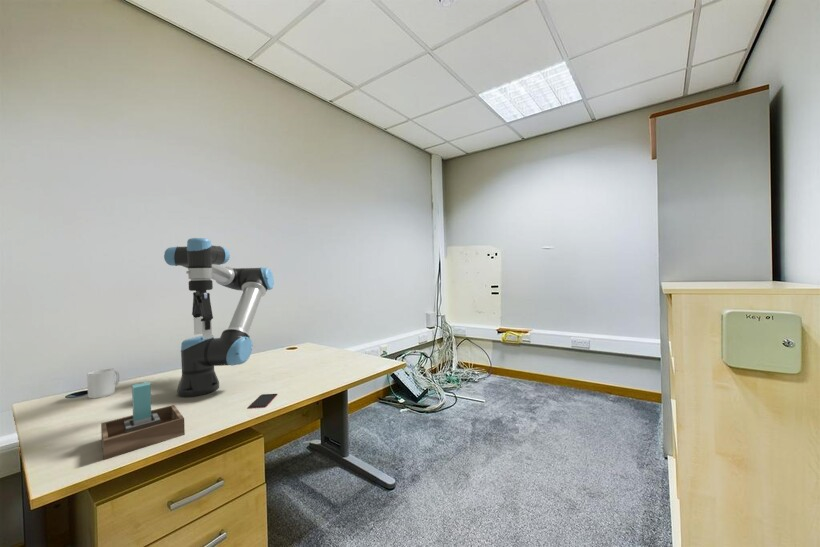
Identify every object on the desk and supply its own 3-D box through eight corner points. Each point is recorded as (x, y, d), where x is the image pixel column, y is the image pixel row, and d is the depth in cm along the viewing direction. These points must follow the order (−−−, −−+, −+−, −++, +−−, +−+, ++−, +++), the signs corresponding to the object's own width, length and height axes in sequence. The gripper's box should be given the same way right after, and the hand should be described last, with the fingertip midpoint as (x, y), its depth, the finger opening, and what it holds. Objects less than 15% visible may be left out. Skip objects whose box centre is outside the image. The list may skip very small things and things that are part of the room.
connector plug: (133, 430, 99) (132, 385, 100) (149, 425, 102) (148, 381, 102) (134, 434, 97) (133, 387, 97) (151, 429, 100) (150, 384, 100)
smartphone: (278, 393, 132) (265, 407, 118) (278, 394, 132) (265, 408, 118) (261, 394, 131) (246, 408, 117) (261, 395, 131) (246, 409, 117)
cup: (82, 398, 133) (81, 374, 133) (110, 388, 145) (110, 366, 145) (101, 398, 132) (100, 374, 133) (128, 388, 144) (127, 365, 144)
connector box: (101, 439, 97) (101, 423, 97) (174, 419, 110) (174, 404, 110) (103, 459, 86) (103, 441, 86) (184, 434, 99) (184, 418, 99)
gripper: (181, 280, 127) (184, 333, 127) (196, 280, 109) (198, 342, 109) (204, 279, 132) (206, 330, 132) (221, 279, 114) (223, 338, 114)
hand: (202, 336), depth 121 cm, fingers open, 13 cm apart
